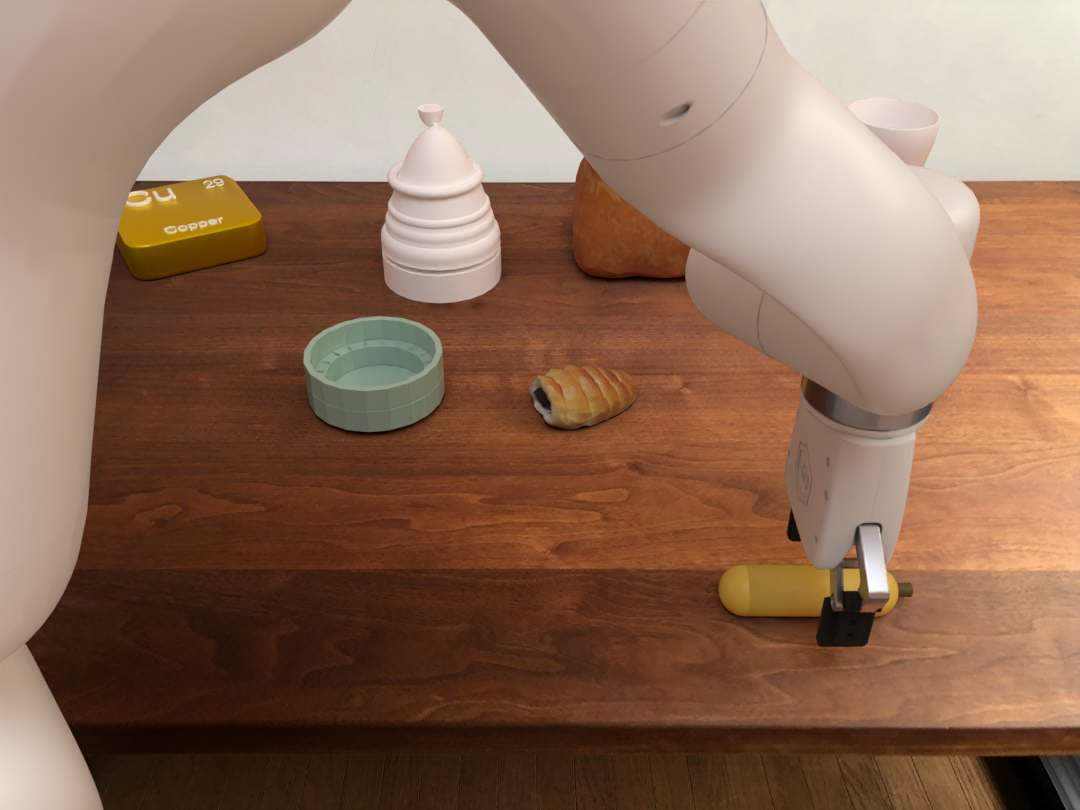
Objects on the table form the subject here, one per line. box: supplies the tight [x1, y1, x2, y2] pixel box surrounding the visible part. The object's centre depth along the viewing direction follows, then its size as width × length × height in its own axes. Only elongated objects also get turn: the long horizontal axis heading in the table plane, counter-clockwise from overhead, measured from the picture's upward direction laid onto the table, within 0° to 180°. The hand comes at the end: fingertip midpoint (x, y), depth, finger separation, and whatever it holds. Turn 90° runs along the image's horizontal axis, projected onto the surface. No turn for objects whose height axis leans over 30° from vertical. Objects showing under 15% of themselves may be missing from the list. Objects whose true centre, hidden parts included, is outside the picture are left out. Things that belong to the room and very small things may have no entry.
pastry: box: [529, 364, 637, 430], centre depth 94 cm, size 9×7×4 cm
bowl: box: [302, 315, 446, 433], centre depth 95 cm, size 12×12×5 cm
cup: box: [846, 97, 942, 168], centre depth 123 cm, size 10×10×14 cm
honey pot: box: [380, 103, 502, 304], centre depth 111 cm, size 13×13×18 cm
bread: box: [572, 156, 691, 279], centre depth 115 cm, size 18×22×17 cm
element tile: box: [115, 174, 268, 281], centre depth 120 cm, size 15×15×5 cm
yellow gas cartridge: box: [718, 564, 914, 618], centre depth 74 cm, size 14×4×4 cm
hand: (823, 588), depth 71 cm, fingers open, 9 cm apart
